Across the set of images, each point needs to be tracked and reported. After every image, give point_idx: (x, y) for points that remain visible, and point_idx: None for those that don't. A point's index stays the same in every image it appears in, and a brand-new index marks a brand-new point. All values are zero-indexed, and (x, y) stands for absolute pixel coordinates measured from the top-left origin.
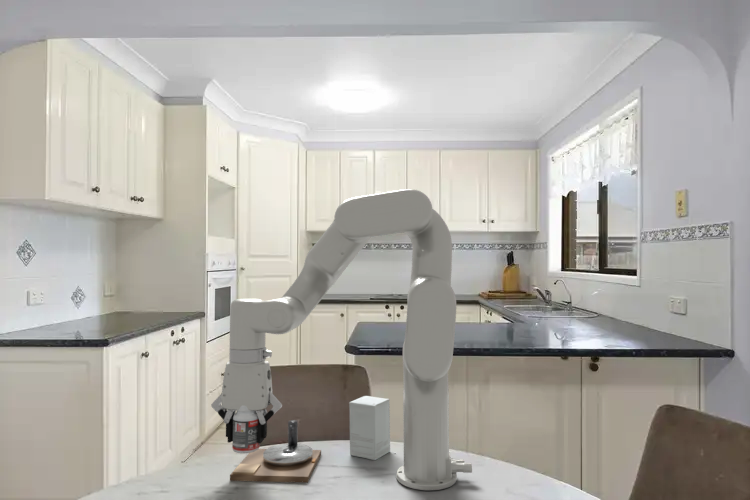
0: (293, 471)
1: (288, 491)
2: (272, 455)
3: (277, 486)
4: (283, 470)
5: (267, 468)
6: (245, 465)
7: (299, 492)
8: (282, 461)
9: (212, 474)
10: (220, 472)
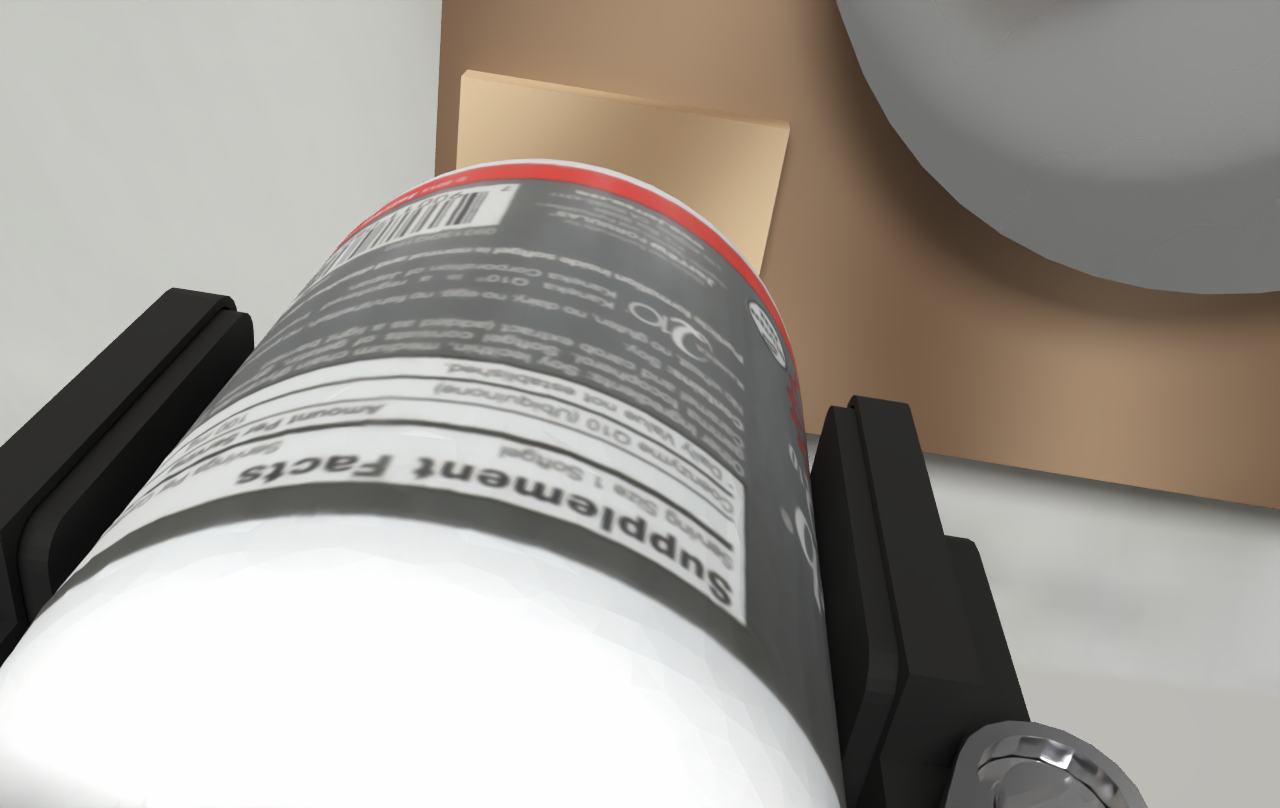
0: (1265, 365)
1: (1120, 641)
2: (1000, 20)
3: (1012, 530)
4: (1128, 315)
5: (899, 224)
6: (565, 156)
7: (1230, 672)
8: (1154, 283)
9: (147, 121)
10: (225, 61)
